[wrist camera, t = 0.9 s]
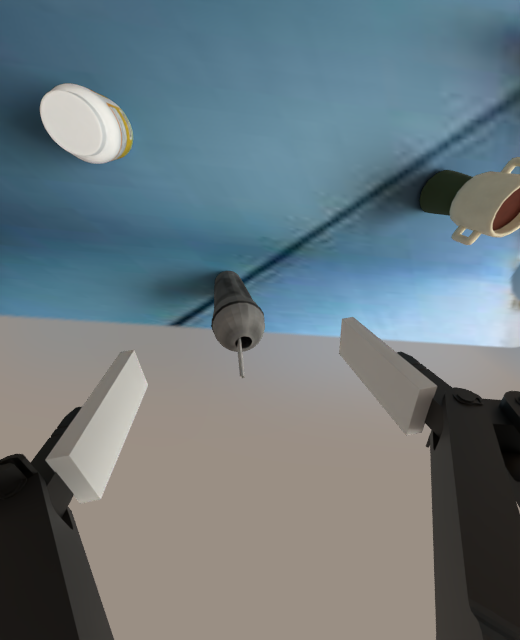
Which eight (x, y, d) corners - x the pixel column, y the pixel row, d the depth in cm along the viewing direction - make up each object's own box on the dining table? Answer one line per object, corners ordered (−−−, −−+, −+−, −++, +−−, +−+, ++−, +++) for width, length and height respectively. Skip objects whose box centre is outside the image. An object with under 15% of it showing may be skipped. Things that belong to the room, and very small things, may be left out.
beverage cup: (256, 284, 42) (294, 369, 26) (224, 307, 43) (244, 400, 28) (231, 254, 37) (260, 335, 22) (197, 280, 39) (202, 374, 23)
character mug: (424, 229, 43) (495, 256, 33) (398, 218, 40) (466, 244, 30) (472, 162, 37) (574, 171, 27) (444, 144, 35) (547, 146, 25)
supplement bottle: (68, 130, 25) (16, 127, 17) (88, 79, 23) (40, 50, 15) (120, 170, 28) (95, 181, 20) (143, 127, 26) (124, 123, 18)
